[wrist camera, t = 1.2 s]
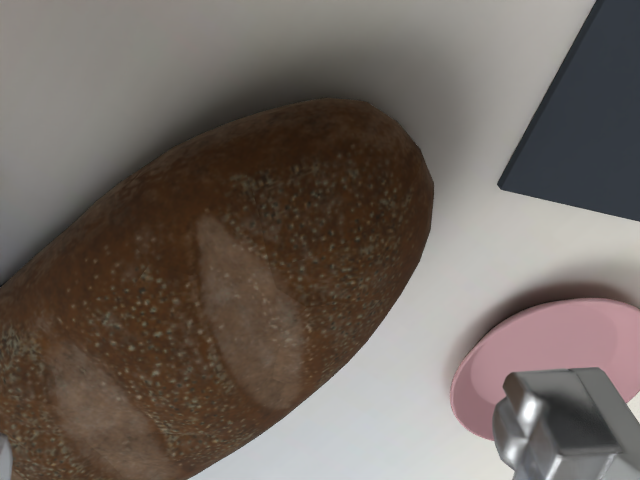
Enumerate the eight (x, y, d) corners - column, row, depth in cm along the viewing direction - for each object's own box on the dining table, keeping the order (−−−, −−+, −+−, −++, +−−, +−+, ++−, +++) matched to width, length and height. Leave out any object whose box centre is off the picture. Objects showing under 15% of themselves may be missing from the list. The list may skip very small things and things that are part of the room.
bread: (479, 213, 32) (542, 317, 26) (72, 495, 44) (42, 618, 37) (294, -9, 25) (314, 57, 18) (-144, 405, 36) (-234, 542, 29)
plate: (410, 341, 38) (417, 364, 37) (621, 243, 35) (639, 263, 34) (482, 444, 46) (490, 467, 45) (659, 371, 43) (675, 393, 42)
